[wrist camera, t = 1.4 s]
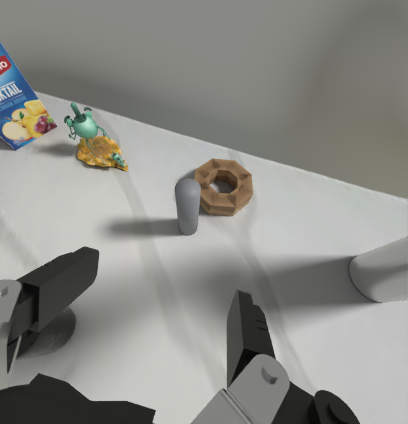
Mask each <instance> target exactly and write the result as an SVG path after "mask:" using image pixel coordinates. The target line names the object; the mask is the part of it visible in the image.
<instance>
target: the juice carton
mask: <svg viewBox="0 0 408 424" xmlns="http://www.w3.org/2000/svg"><path fill="white" fill-rule="evenodd" d="M56 127H57V125H56V124H55V123H54V121H53V120H52V118H51V117H50V115H49V114H48V112H47V111H46V109H45V108H44V106H43V105H42V103H41V102H40V100H39V99H38V97H37V96H36V94H35V93H34V91H33V90H32V88H31V87H30V86H29V84H28V82H27V81H26V79H25V78H24V77H23V75H22V73H21V72H20V70H19V69H18V68H17V66H16V65H15V63H14V62H13V60H12V59H11V57H10V56H9V54H8V53H7V51H6V50H5V48H4V47H3V45H2V44H1V42H0V139H1V140H2V141H4V142H5V143H6V144H7V145H9V146H10V147H11V148H13V149H14V150H17V149H19V148H21V147H22V146H24V145H26V144H28V143H30V142H31V141H33V140H35V139H37V138H38V137H40V136H42V135H44V134H45V133H47V132H49V131H51V130H52V129H54V128H56Z"/></svg>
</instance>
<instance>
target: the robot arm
mask: <svg viewBox="0 0 408 424" xmlns="http://www.w3.org/2000/svg"><path fill="white" fill-rule="evenodd" d="M98 261H99V251H98V250H96V249H92V248H89V247H82V248H80V249H79V250H77V251H75V252H73V253H72V252H71V253H67V254H64V255H61V256H59V257H57V258H55V259H53V260H52V261H51V262H48V263H46V264H44V266H41V267H39V268H37V269H35V270H33V271H32V272H30V273H28V274H26V275H24V276H23V277H21V278H19V279H17V280H0V424H154V423H153V419H154V415H155V411H156V410H153V409H150V408H147V407H144V406H141V405H137V404H134V403H131V402H128V401H91V400H89V399H87V398H86V397H85V396H84V395H82V394H81V393H80V392H79V391H77V390H76V389H75V388H74V387H72V386H71V385H70V384H69V383H67V382H65V381H62V380H59V379H55V378H52V377H49V376H46V375H43V374H40V373H38V375H37V376H36V377H35V378H34V379H33V380H32V381H31V382H30V383H29V385H18V386H13V387H9V382H10V378H11V374H12V370H13V367H14V363H15V360H16V356H17V352H18V349H19V345H20V341H21V334H22V333H24V332H25V331H26V330H27V329H28V330H31V331H34V332H37V333H38V332H40V331H41V330H42V329H43V328H44V327H45V326H46V325H47V324H48V323H50V322H51V321H52V320H53V319H54V318H55V317H56V316H57V315H58V314H60V313H61V312H62V311H63V310H64V309H65V308H66V307H67V306H68V305H70V304H71V303H72V302H73V301H74V300H75V299H76V298H77V297H78V296H80V295H81V294H82V293H83V292H84V291H85V290H86V289H87V288H88V287H90V286H91V285H92V284H93V282H94V280H95V278H96V276H97V270H98ZM349 272H350V276H351V279H352V281H353V283H354V285H355V286H356V287H357V289H358V290H359V291H360V292H361V293H362V294H363V295H365V296H366V297H368V298H369V299H371V300H373V301H377V302H391V301H402V300H408V237H405V238H403V239H400V240H397V241H395V242H392V243H390V244H387V245H385V246H382V247H379V248H377V249H374V250H371V251H369V252H366V253H364V254H361V255H359V256H356V257H355V258H353V259H352V261H351V262H350V266H349ZM8 387H9V388H8ZM191 424H360V423H359V421H358V419H357V417H356V416H355V414H354V413H353V411H352V410H351V409H350V408H349V407H348V405H347V404H346V403H345V402H344V401H342V400H341V399H340V398H339V397H337V396H336V395H334V394H333V393H331V392H328V391H325V390H320V391H318V392H316V394H315V396H314V397H313V396H312V395H310V394H309V393H307V392H305V391H304V390H302V389H301V388H299V387H297V386H296V385H294V384H293V383H292V382H291V381H289V377H288V375H287V372H286V371H285V369H284V368H283V366H282V365H281V364H280V363H279V362H278V361H277V360H276V358H275V354H274V350H273V346H272V342H271V338H270V334H269V332H268V327H267V324H266V319H265V315H264V313H263V312H262V310H261V309H260V307H259V306H257V305H253V302H252V297H251V294H250V293H247V292H243V291H239V290H237V291H236V293H235V296H234V299H233V302H232V305H231V308H230V311H229V314H228V318H227V390H225V389H224V388H223V389H221V390H220V391H219V392H218V393H217V394H216V395H215V396H214V398H213V399H212V400H211V401H210V402H209V403H208V404H207V406H206V407H205V408H204V409H203V410H202V411H201V412H200V414H199V415H198V416H197V417H196V418H195V419H194V420H193V422H192V423H191Z"/></svg>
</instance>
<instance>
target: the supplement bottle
mask: <svg viewBox="0 0 408 424" xmlns="http://www.w3.org/2000/svg"><path fill="white" fill-rule="evenodd" d="M75 324H76V319H75V315H74V313H73V311H72V310H71V309H70V308H69V307H66V308H65V309H64V310H63V311H62V312H61V313H60V314H58V315H57V316H56V317H55V318H54V319H53V320H52V321H51V322H50V323H48V324H47V325H46V326H45V327H44V328H43V329H42V330H41V331H40V332H38V333H37V332H34V331H31V330H28V329H27V330H26V331H25V332H24V333H22V334H21V341H20V345H19V349H18V352H17V356H16V360H20V359H25V358H29V357H34V356H39V355H43V354H48V353H51V352H54V351H56V350H58V349H59V348H61V347H62V346H63V345H64V344H65V343H66V342H67V341H68V340H69V339H70V337H71V336H72V334H73V331H74V329H75Z"/></svg>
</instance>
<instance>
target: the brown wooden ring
mask: <svg viewBox="0 0 408 424" xmlns="http://www.w3.org/2000/svg"><path fill="white" fill-rule="evenodd" d="M194 180H195V181H197V182H198V183H199V185H200V187H201V194H200V206H201V207H202V208H203V209H204V210H205V211H206V212H207V213H208V214H213V215H225V216H233V215H234V214H236V213H237V212H238V211H239V210H240V209H242V208H243V207H244V206H245V205H247V204H248V202H249V200H250V199H251V197H252V195H253V188H252V175H251V174H250V173H249V172H248V171H247V170H245V169H244V168H243V167H242V166H241V165H239V164H238V163H237V162H236V161H233V160H222V159H211V160H210V161H208V162H206V163H205V164H203V165H202V166H200V167H199V168H197V169H195V179H194ZM215 180H218V181H227V182H228V183H229V184H230V185H231V186H232V187H234V191H233V192H231V193H230V194H227V193H217V192H216V191H215V190H214V189H213V188H212V187H211V186H210V184H211V183H213V182H214V181H215Z"/></svg>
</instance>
